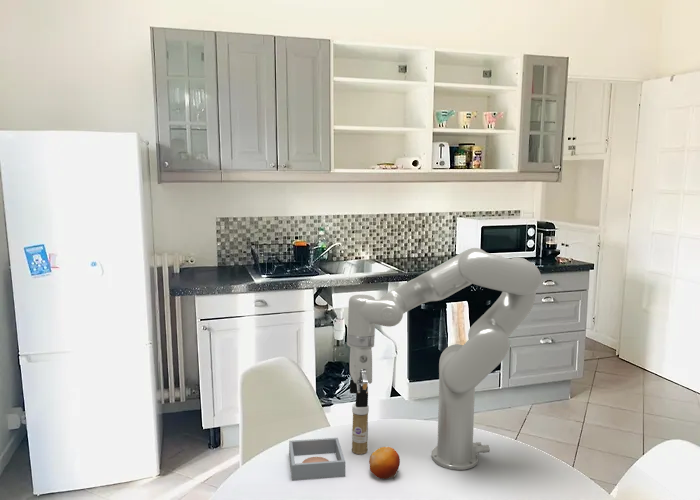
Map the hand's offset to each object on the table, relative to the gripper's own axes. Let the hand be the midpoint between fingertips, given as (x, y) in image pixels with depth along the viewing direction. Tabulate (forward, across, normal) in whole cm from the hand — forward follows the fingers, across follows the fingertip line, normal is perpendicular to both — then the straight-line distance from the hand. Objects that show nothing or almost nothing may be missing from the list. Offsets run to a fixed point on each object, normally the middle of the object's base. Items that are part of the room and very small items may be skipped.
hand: (358, 399), depth 146 cm
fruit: (+15, -13, -5) cm, 21 cm away
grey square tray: (+15, -6, +12) cm, 20 cm away
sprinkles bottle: (+15, 0, -1) cm, 15 cm away
